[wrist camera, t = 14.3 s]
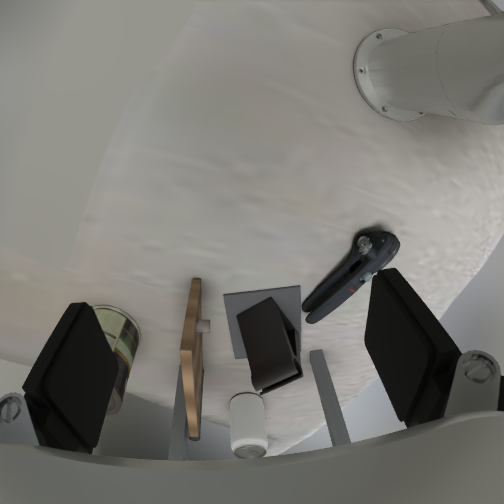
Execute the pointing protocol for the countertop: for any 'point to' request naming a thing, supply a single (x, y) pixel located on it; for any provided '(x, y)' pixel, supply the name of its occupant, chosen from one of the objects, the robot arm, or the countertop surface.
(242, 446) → the can
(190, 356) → the gate door
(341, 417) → the door frame
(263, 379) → the phone stand
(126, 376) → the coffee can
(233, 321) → the rubber mat
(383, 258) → the can opener
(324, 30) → the countertop surface
